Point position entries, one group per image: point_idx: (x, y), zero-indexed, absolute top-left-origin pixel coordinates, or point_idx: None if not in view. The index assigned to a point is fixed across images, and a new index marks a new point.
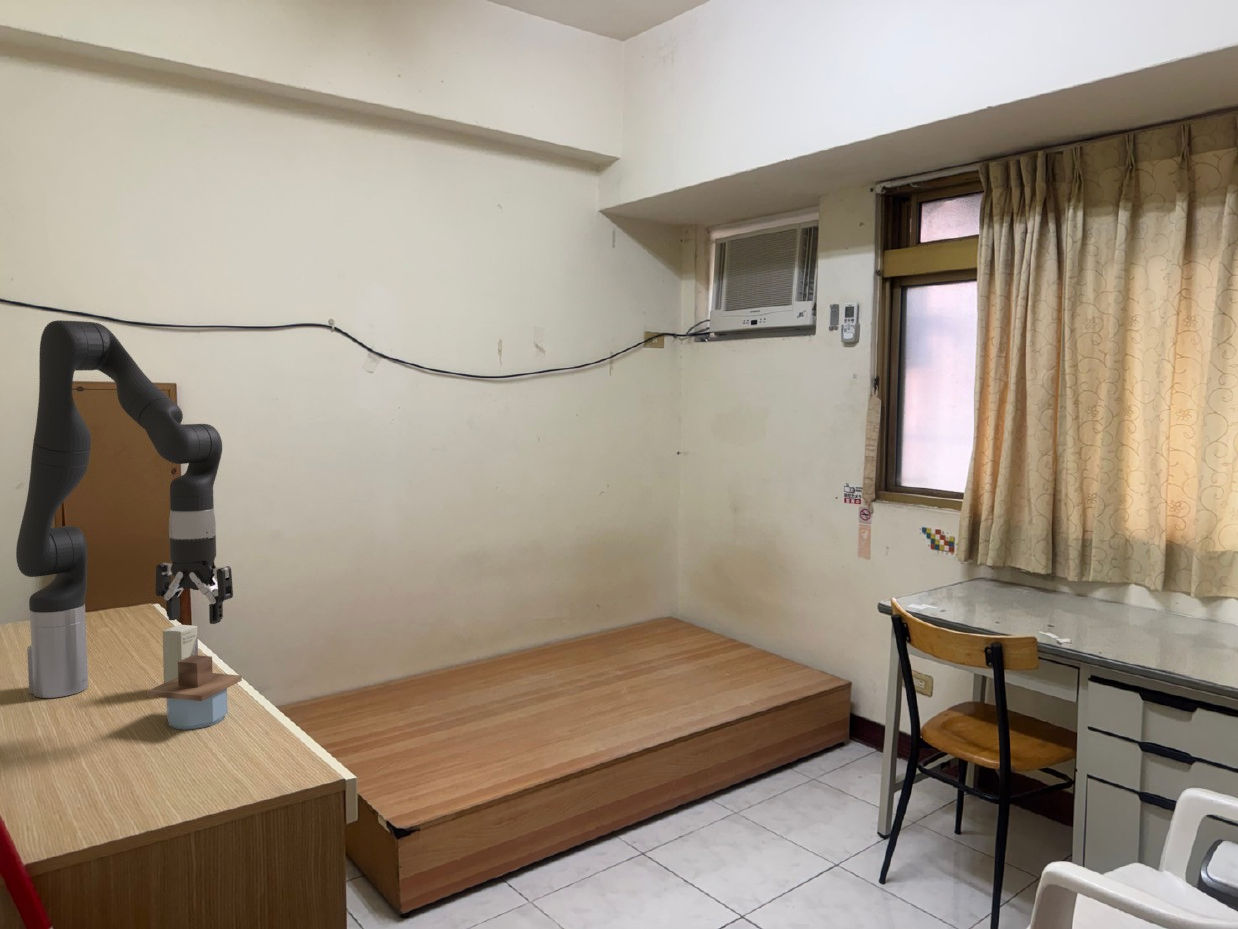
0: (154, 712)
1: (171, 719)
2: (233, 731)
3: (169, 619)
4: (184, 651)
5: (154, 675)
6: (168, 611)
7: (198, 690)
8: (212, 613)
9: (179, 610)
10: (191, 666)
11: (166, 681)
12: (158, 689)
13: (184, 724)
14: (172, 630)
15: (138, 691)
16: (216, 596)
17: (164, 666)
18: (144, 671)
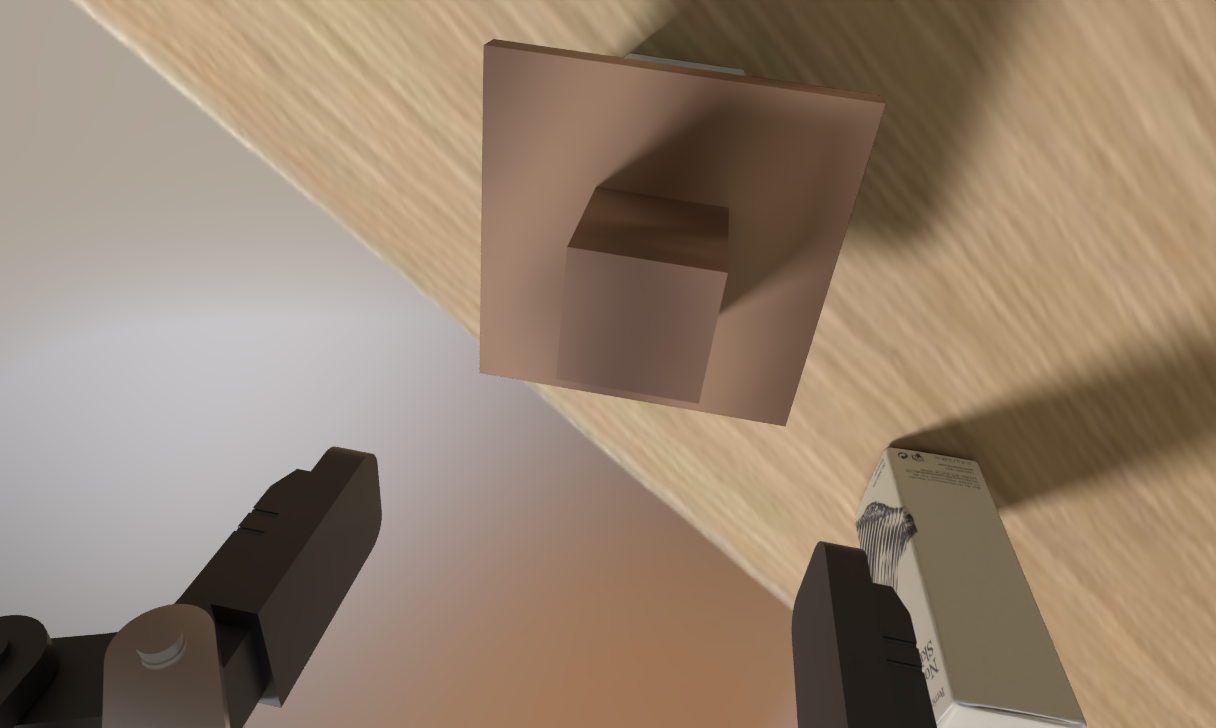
0: (920, 260)
1: (727, 72)
2: (423, 65)
3: (854, 548)
4: (916, 609)
5: (1102, 621)
6: (876, 621)
7: (558, 135)
8: (276, 518)
9: (797, 677)
10: (617, 243)
11: (976, 493)
12: (821, 132)
13: (651, 57)
14: (1020, 723)
15: (1106, 478)
16: (97, 712)
17: (1007, 548)
18: (1163, 656)
